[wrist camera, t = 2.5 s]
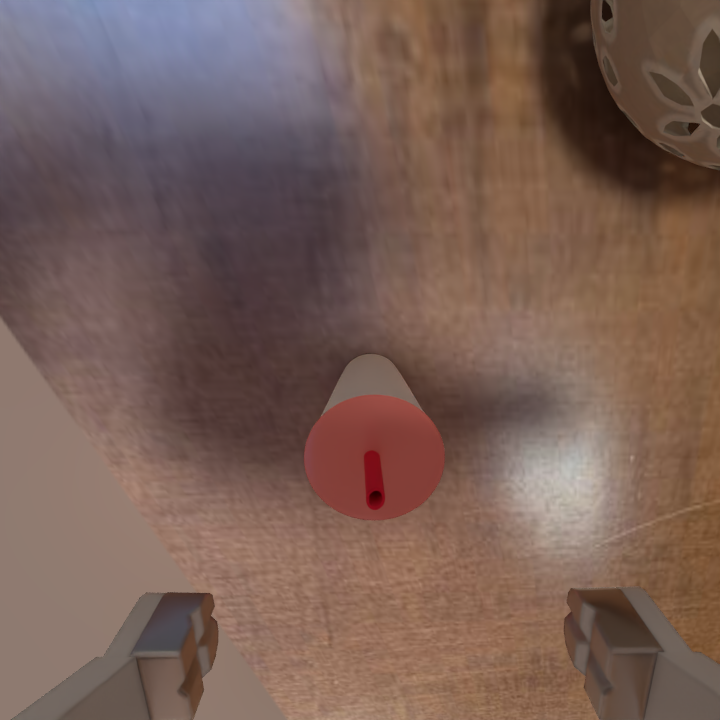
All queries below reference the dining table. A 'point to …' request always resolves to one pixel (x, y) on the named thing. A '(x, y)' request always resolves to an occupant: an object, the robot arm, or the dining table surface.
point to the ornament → (665, 71)
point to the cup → (373, 444)
